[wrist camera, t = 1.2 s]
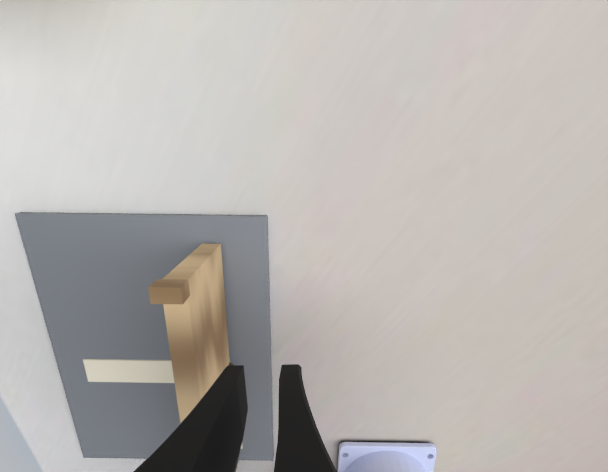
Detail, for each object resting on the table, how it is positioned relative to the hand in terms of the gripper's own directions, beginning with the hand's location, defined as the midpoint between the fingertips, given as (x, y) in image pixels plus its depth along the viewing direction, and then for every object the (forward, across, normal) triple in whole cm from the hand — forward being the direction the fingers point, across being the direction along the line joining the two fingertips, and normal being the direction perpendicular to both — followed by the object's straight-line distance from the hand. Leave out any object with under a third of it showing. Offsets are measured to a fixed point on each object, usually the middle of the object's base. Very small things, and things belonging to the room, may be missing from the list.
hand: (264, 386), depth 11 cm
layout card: (+9, +9, +6) cm, 14 cm away
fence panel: (+9, +5, +1) cm, 10 cm away
